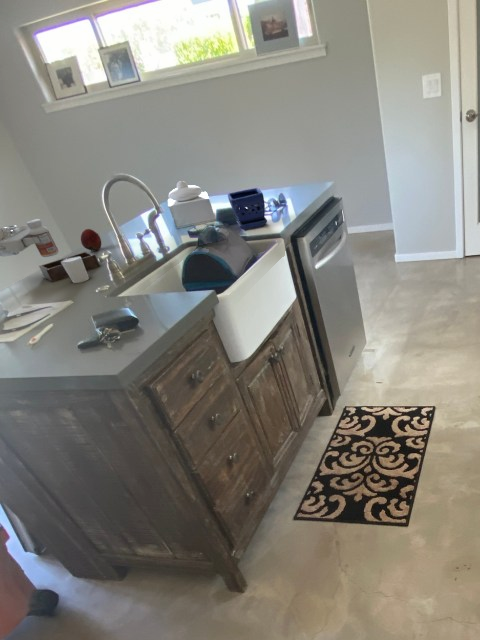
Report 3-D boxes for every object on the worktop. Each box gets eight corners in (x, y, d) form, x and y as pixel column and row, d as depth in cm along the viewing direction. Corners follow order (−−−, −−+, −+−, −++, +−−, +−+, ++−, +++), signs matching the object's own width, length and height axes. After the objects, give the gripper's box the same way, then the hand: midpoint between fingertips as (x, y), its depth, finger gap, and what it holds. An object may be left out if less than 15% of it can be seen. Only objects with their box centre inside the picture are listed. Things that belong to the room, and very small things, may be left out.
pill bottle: (46, 253, 190) (29, 219, 183) (62, 251, 190) (45, 217, 182) (38, 258, 186) (20, 224, 178) (54, 256, 185) (37, 222, 178)
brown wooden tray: (52, 281, 187) (46, 270, 185) (44, 277, 193) (38, 266, 190) (100, 266, 196) (94, 254, 193) (91, 262, 201) (86, 251, 198)
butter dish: (213, 212, 242) (200, 173, 232) (215, 220, 229) (203, 179, 219) (175, 220, 240) (161, 180, 229) (176, 229, 227) (161, 187, 216)
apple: (108, 248, 215) (99, 227, 210) (92, 254, 211) (82, 232, 206) (98, 247, 219) (89, 226, 213) (82, 252, 214) (72, 231, 209)
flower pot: (271, 225, 211) (263, 192, 203) (239, 232, 208) (230, 199, 200) (265, 219, 220) (258, 187, 212) (235, 225, 218) (226, 193, 210)
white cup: (85, 282, 182) (75, 261, 177) (67, 284, 182) (56, 263, 178) (94, 275, 187) (84, 255, 182) (76, 277, 187) (66, 257, 183)
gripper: (-15, 240, 174) (25, 234, 174) (14, 224, 189) (50, 219, 189) (-3, 260, 179) (36, 254, 178) (24, 243, 194) (60, 237, 193)
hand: (43, 236), depth 184 cm, fingers closed on pill bottle, 6 cm apart
